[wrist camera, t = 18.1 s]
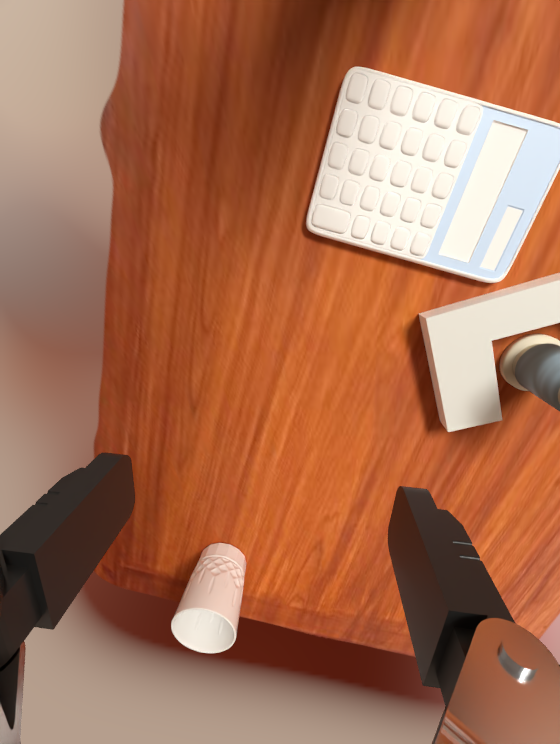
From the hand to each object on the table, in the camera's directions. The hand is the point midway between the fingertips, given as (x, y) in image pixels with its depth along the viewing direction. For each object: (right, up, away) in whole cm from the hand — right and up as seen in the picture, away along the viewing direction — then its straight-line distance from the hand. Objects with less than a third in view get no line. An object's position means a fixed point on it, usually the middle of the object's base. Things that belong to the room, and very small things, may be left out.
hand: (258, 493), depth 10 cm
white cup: (-8, -24, +40) cm, 47 cm away
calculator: (+14, +21, +22) cm, 34 cm away
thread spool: (+27, +5, +26) cm, 38 cm away
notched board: (+26, +6, +25) cm, 37 cm away
